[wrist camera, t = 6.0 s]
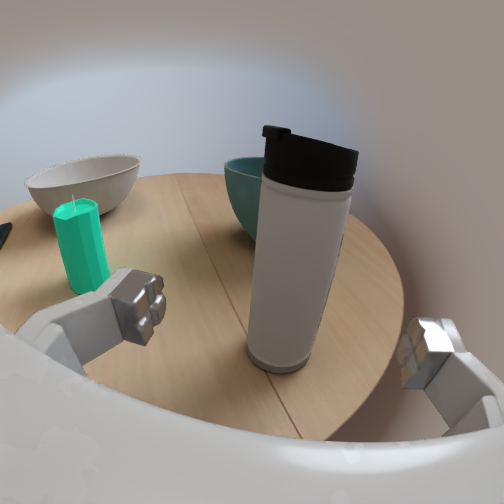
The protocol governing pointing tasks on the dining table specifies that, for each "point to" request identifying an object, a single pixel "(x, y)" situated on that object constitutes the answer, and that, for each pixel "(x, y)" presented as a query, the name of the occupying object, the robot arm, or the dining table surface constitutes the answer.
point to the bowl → (85, 182)
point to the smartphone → (4, 232)
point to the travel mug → (296, 244)
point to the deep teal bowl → (245, 190)
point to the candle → (81, 244)
